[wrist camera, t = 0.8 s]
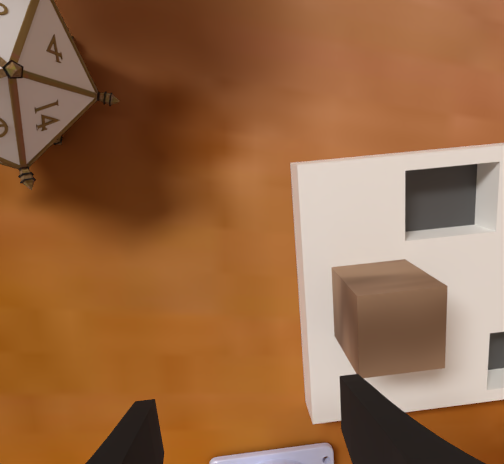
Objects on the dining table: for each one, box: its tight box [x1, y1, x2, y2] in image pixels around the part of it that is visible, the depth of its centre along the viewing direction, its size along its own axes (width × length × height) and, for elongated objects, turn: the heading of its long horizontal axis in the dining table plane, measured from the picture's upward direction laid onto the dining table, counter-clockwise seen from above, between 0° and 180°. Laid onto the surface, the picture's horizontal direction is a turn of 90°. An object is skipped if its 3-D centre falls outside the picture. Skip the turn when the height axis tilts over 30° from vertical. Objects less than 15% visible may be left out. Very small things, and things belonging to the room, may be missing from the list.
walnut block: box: [331, 259, 448, 378], centre depth 19 cm, size 4×4×4 cm
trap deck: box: [290, 143, 504, 424], centre depth 21 cm, size 15×19×4 cm
